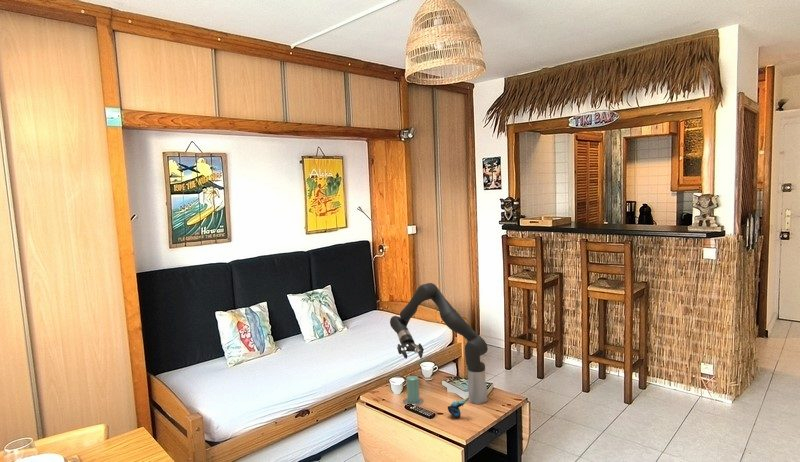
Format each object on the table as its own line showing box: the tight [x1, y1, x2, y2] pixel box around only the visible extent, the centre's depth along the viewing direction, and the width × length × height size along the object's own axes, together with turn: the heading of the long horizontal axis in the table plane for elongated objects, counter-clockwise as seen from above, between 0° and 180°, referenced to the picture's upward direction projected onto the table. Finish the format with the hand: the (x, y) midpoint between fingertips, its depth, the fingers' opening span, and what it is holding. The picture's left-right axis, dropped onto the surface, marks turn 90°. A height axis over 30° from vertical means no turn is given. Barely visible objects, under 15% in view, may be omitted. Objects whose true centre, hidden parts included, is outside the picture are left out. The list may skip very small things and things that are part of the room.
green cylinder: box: [406, 375, 420, 404], centre depth 260 cm, size 6×6×13 cm
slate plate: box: [402, 397, 424, 407], centre depth 261 cm, size 11×11×1 cm
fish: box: [447, 398, 469, 419], centre depth 241 cm, size 4×10×10 cm, turn 78°
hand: (413, 357), depth 266 cm, fingers open, 8 cm apart
